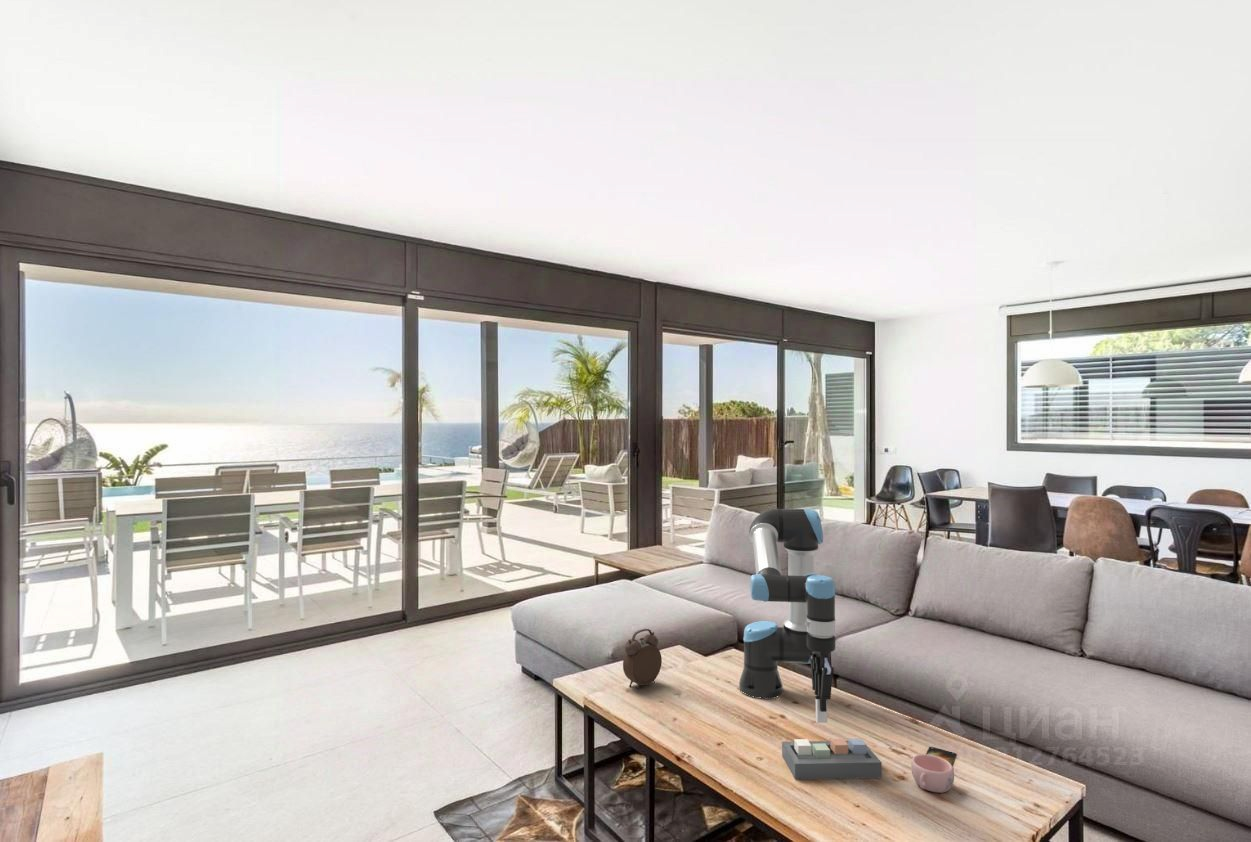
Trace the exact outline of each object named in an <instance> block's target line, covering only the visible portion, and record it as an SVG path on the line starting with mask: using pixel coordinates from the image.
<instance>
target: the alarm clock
mask: <svg viewBox="0 0 1251 842" xmlns="http://www.w3.org/2000/svg"><path fill="white" fill-rule="evenodd" d="M642 632H648V633H647V634H645V635H644V636H643V637H641V638H639V641H638V639H636V636H637V635H638V634H640V633H642ZM627 640H628V641H626V642H625V644H624V651H625V655H624V656H623V660H622V669H623V673H624V675H625V677H626V678H627V679H628V680H630V683H629V685H628V687H629V688H631V687H632V685H633V683H635V684H637V687H636V689H637V690H638V689H639V688H640V685H641V686H647V685H648V686H649V684H652V683H653V684H656V681H655V680H656V678H657V677H658V675H659V674H660V673H661V672H660V671H661V668H662V653H661V651H660V650H659V648H658V645H659V639H658V637H657V636H656V635H655V632H654V631H652V630H651V629H649V628H642V629H639V630H636V631H635V632H634V633H633V635H632V638H631V639H627Z"/></svg>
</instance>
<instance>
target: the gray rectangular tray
mask: <svg viewBox="0 0 1251 842" xmlns="http://www.w3.org/2000/svg"><path fill="white" fill-rule="evenodd" d="M808 741H809V743H810V744H811V746H812V744H824V743H825V744H826V745H827V747H828V748H829V749H830V759H816V757H815V756H814V754H813V753H812V755H798V753H797V752H796V750H795V749H794V741H782V742H781V756H782V759H783V760H784V763H785V765H786V767H788V769H789V771H790V773H791V775H792V777H793V778H794V780H831V779H832V780H833V779H834V780H835V779H837V780H838V779H843V780H844V779H882V778H883V775H882V774H883V772H882V770H883V769H882V768H883V767H882V761H881V760H880V759H879V758H878V757H877V755H876V754H875V753H874V752H873V751H872V749H871V748H870V747H869V746H868V745H867V754H853V753H852V751H851V750H850V749H849V748H848V754H835V753H834V752H833V751H832V749H831V748H830V740H808ZM845 742H846V743H847V744H848V740H845Z"/></svg>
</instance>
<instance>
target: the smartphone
mask: <svg viewBox="0 0 1251 842" xmlns="http://www.w3.org/2000/svg"><path fill="white" fill-rule="evenodd" d="M925 754H927V755H933V756H937V757H940V758H942V759H944V760H946V761H948V762H949V763H950V764H951V765H952V767H953V765H954V762H955V760H956V758H957V753H956V752H953V751H950V750H945V749H942V748H938V747H934V746H929V747H928V749H927V750H926V753H925Z"/></svg>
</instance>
